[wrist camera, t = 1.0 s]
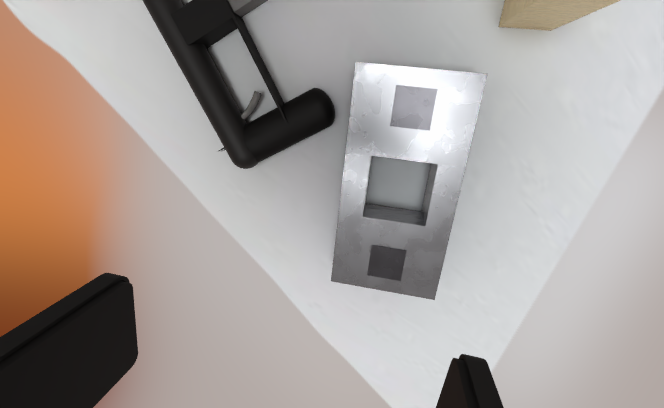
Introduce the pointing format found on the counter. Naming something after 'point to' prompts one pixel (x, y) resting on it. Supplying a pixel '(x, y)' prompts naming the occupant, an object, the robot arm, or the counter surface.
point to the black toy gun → (211, 91)
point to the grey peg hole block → (407, 144)
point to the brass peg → (547, 12)
